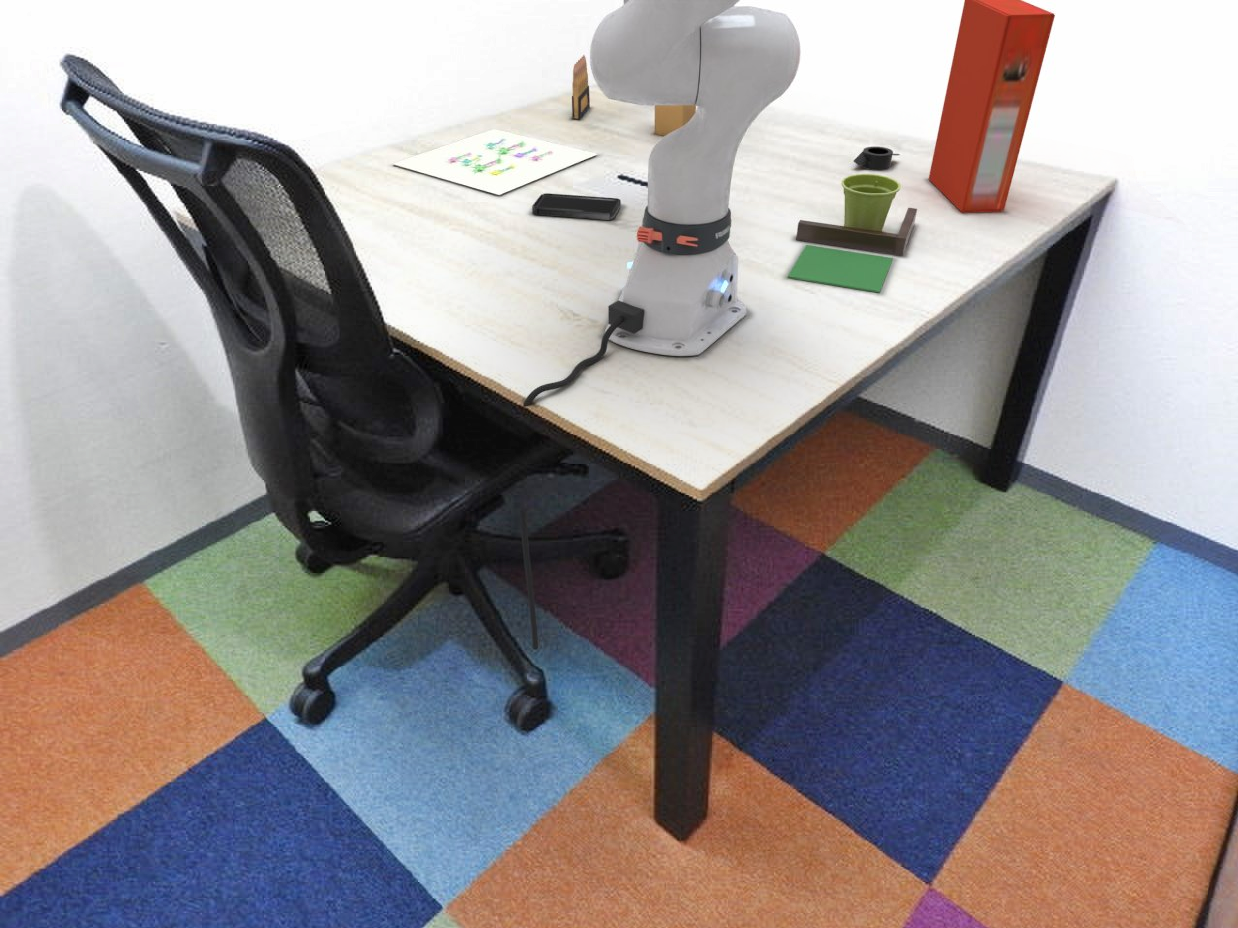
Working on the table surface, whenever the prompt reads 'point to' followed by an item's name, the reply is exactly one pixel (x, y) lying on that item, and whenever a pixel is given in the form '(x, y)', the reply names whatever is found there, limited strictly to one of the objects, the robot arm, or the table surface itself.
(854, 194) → the plant pot
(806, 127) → the table surface
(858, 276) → the green cloth
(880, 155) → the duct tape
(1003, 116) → the file binder
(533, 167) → the printed paper
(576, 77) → the ammunition clip
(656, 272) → the robot arm
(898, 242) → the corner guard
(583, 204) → the phone
